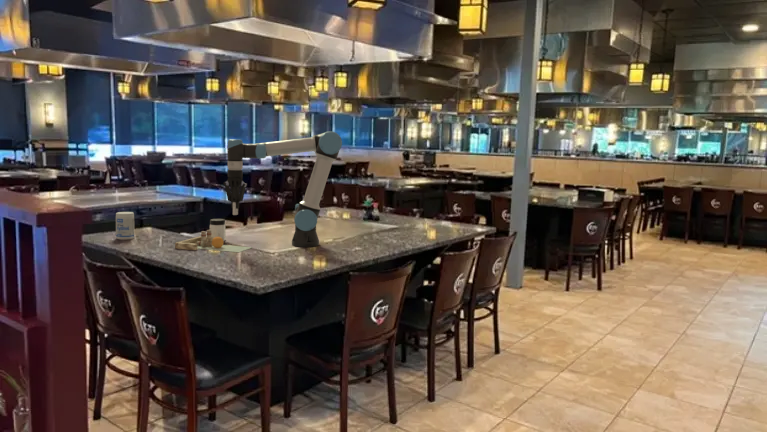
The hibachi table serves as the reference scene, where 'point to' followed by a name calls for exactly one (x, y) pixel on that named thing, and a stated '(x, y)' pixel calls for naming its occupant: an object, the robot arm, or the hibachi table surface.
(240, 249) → the pale green board
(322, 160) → the robot arm
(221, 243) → the ball
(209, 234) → the pin rear right
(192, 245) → the backstop
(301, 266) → the hibachi table surface
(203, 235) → the pin rear left
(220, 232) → the jar
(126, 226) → the supplement tub
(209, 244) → the pin front
